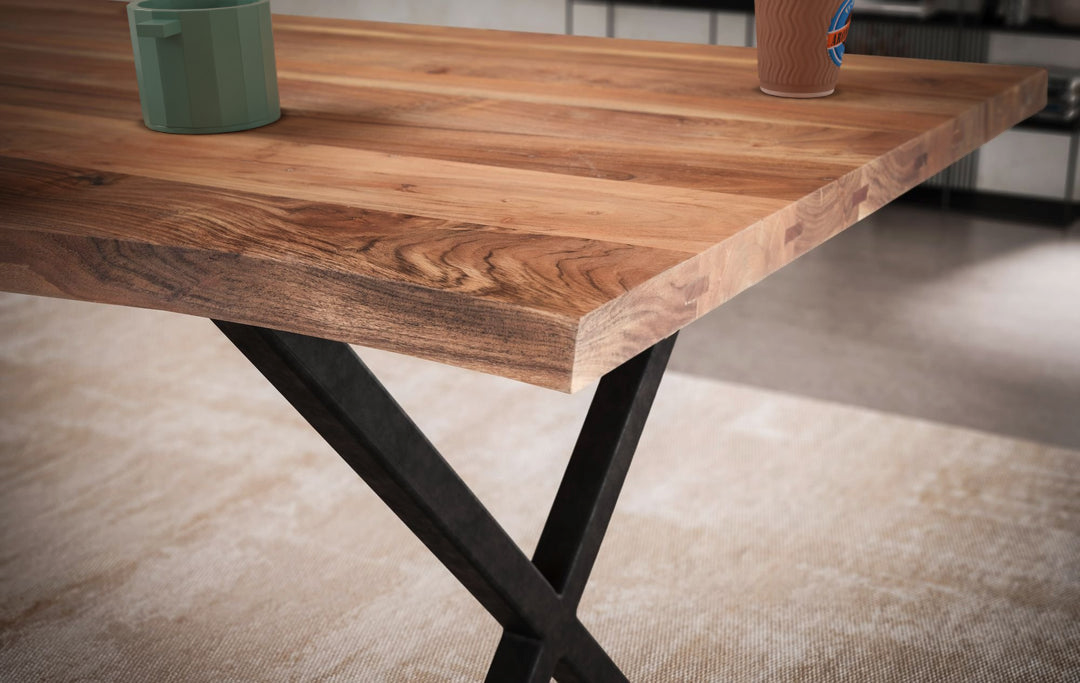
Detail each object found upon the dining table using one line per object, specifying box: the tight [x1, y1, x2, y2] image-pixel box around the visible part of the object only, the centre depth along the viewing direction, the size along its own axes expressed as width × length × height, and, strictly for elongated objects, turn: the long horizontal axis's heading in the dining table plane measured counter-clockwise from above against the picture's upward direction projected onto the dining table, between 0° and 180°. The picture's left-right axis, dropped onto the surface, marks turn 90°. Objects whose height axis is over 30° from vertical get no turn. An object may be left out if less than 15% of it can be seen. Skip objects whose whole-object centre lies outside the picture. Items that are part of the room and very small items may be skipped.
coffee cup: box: [754, 0, 855, 99], centre depth 109 cm, size 10×10×12 cm
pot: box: [126, 0, 282, 135], centre depth 101 cm, size 12×17×10 cm
